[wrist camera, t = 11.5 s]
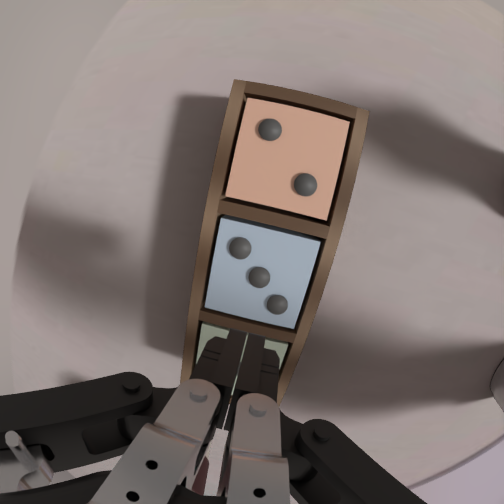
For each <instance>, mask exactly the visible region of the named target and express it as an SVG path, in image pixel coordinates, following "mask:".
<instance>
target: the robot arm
mask: <svg viewBox="0 0 504 504" xmlns="http://www.w3.org/2000/svg"><path fill="white" fill-rule="evenodd" d="M246 336H247V332H245V331H241V330H237V329H233V328H230V330H229V333H228V336H227V338H226V339H225V338H221V337H217V336H215V337H213V338H212V339H210V340H208V341H207V343H206V345H205V347H204V349H203V351H202V353H201V356H200V357H199V359H198V361H197V363H196V365H195V368H194V370H193V372H192V374H191V376H190V378H189V380H186V381H184V382H182V383H181V384H180V385H179V386H178V387H177V388H156V387H152V383H151V382H150V380H149V379H148V378H147V377H145V376H144V375H142V374H139V373H135V372H123V373H119V374H115V375H111V376H107V377H102V378H98V379H94V380H89V381H85V382H80V383H75V384H70V385H65V386H60V387H55V388H49V389H44V390H38V391H32V392H25V393H18V394H11V395H3V396H0V504H290V494H291V495H292V496H293V498H294V499H295V500H296V501H297V502H298V503H299V504H427V503H426V502H424V501H423V500H422V499H420V498H419V497H418V496H416V495H415V494H414V493H413V492H411V491H410V490H409V489H408V488H406V487H405V486H404V485H403V484H401V483H400V482H399V481H398V480H397V479H395V478H394V477H393V476H392V475H391V474H389V473H388V472H387V471H386V470H385V469H383V468H382V467H381V466H380V465H379V464H378V463H376V462H375V461H374V460H373V459H372V458H371V457H370V456H368V455H367V454H366V453H365V452H364V451H363V450H362V449H361V448H359V447H358V446H357V445H356V444H355V443H354V442H353V441H352V440H351V439H350V438H348V437H347V436H346V435H345V434H344V433H343V432H342V431H341V430H340V429H339V428H338V427H337V426H335V425H334V424H333V423H331V422H329V421H326V420H322V419H313V420H309V421H307V422H305V423H304V424H302V423H299V422H297V421H294V420H292V419H290V418H288V417H287V416H285V415H284V414H283V413H282V412H281V411H280V409H279V406H278V404H277V393H278V379H279V376H278V375H279V364H280V358H279V356H278V354H277V353H276V351H275V350H271V349H266V348H264V345H265V338H266V336H262V335H258V334H253V333H249V334H248V338H247V342H246V346H245V349H244V353H243V357H242V361H241V365H240V369H239V372H238V368H239V364H240V360H241V356H242V352H243V348H244V344H245V340H246ZM237 372H238V376H237ZM236 376H237V380H236V384H235V387H234V383H235V379H236ZM233 387H234V391H233ZM490 387H491V391H492V393H493V394H494V399H495V400H496V402H497V403H498V404H499V406H500V407H501V409H502V410H503V412H504V360H503V361H502V363H501V364H500V365H499V367H498V369H497V370H496V372H495V374H494V376H493V379H492V381H491V386H490ZM232 391H233V395H232V399H231V403H230V407H229V411H228V415H227V419H226V423H225V426H224V430H227V431H229V433H228V437H227V441H226V444H225V448H224V454H223V461H222V467H221V474H220V480H219V487H218V491H217V496H203V495H200V494H197V493H195V492H193V491H191V489H192V486H193V483H194V480H195V478H196V475H197V473H198V471H199V469H200V466H201V464H202V462H203V459H204V457H205V455H206V452H207V450H208V448H209V445H210V442H211V440H212V439H213V437H214V434H215V430H216V428H219V429H222V427H223V423H224V420H225V416H226V412H227V409H228V405H229V402H230V398H231V394H232ZM120 455H123V456H122V457H121V459H120V460H119V461H118V463H117V464H116V466H115V467H114V468H113V470H110V471H101V472H96V473H92V474H89V475H86V476H82V477H79V478H75V479H72V480H68V481H64V482H60V483H56V484H52V485H49V484H50V482H51V481H52V479H53V475H54V472H59V471H64V470H69V469H73V468H77V467H81V466H85V465H89V464H93V463H96V462H100V461H103V460H107V459H110V458H113V457H116V456H120Z"/></svg>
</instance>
